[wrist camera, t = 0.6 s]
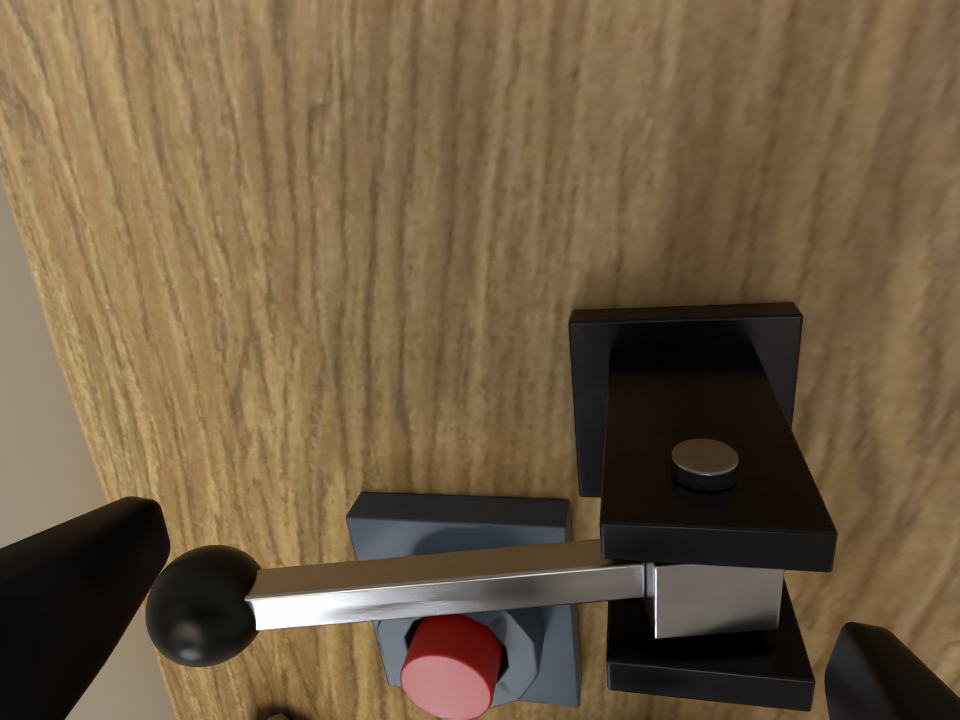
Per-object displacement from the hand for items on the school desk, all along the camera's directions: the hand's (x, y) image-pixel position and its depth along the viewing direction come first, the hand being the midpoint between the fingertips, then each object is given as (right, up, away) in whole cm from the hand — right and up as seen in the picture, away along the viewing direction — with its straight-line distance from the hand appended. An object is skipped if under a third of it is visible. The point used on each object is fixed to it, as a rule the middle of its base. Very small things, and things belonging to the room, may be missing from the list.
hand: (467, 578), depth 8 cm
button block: (0, -7, +20) cm, 21 cm away
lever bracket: (+7, +1, +14) cm, 15 cm away
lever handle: (-1, -2, +8) cm, 8 cm away
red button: (-1, -9, +17) cm, 19 cm away
